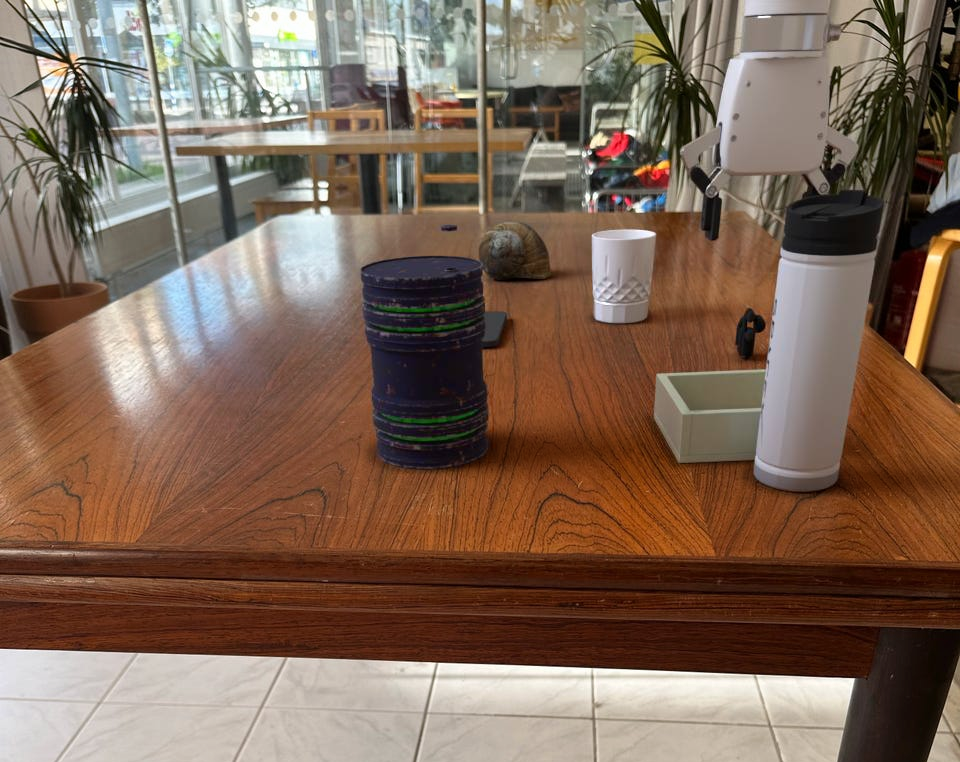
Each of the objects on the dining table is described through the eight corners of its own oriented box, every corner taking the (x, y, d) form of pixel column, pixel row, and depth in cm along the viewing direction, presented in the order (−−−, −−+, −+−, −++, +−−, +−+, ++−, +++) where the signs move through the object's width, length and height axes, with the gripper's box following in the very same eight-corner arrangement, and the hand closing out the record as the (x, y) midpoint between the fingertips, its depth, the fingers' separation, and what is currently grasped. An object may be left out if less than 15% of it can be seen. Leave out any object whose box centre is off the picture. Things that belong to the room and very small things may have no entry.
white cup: (619, 308, 126) (622, 227, 120) (664, 317, 120) (669, 233, 115) (576, 318, 121) (578, 235, 116) (621, 328, 116) (625, 241, 111)
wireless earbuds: (733, 349, 106) (737, 302, 103) (755, 349, 106) (761, 302, 103) (741, 366, 100) (746, 317, 97) (765, 365, 100) (771, 316, 97)
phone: (434, 341, 110) (451, 311, 123) (434, 348, 111) (451, 318, 123) (497, 341, 109) (508, 311, 122) (497, 348, 110) (508, 317, 123)
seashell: (476, 284, 143) (474, 227, 139) (482, 272, 151) (480, 218, 147) (551, 282, 142) (551, 225, 138) (552, 271, 150) (552, 216, 146)
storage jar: (352, 456, 81) (327, 230, 71) (421, 423, 88) (406, 213, 78) (446, 477, 76) (433, 237, 66) (511, 440, 83) (507, 218, 73)
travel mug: (852, 473, 73) (903, 191, 63) (815, 499, 69) (862, 203, 59) (778, 456, 77) (814, 187, 67) (738, 480, 73) (770, 197, 63)
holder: (779, 413, 86) (785, 368, 84) (820, 457, 77) (828, 408, 74) (653, 418, 87) (656, 373, 84) (678, 463, 77) (682, 414, 74)
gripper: (860, 38, 91) (829, 229, 100) (681, 43, 91) (667, 233, 100) (890, 37, 85) (854, 241, 94) (698, 41, 84) (681, 245, 93)
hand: (757, 237), depth 97 cm, fingers open, 9 cm apart
